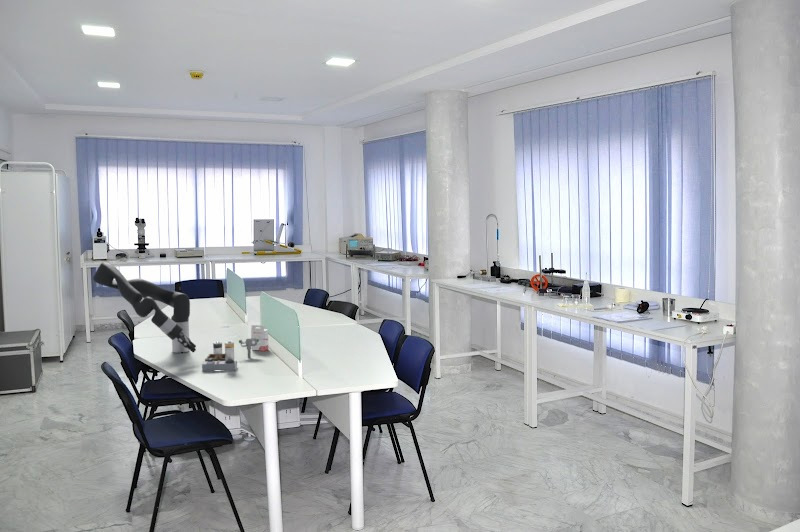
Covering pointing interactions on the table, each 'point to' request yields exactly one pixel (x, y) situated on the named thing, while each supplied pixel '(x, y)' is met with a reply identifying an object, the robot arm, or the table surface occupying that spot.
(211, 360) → the plunger
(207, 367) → the tester
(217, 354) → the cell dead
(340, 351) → the table surface
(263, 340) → the ink cartridge box
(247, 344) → the mechanical component
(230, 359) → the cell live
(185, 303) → the robot arm
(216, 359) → the bin
